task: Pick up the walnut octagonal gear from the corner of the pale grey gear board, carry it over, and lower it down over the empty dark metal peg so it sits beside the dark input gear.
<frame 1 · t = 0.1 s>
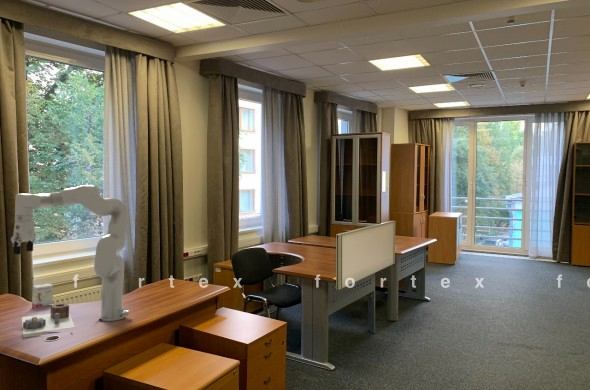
hand: (23, 252, 215), 31 cm above the table, tool pointing down, fingers open, 9 cm apart
gear board: (47, 325, 202), on the table
walnut gear: (59, 316, 210), point 1 cm above the table, touching gear board
ink box: (42, 307, 228), on the table
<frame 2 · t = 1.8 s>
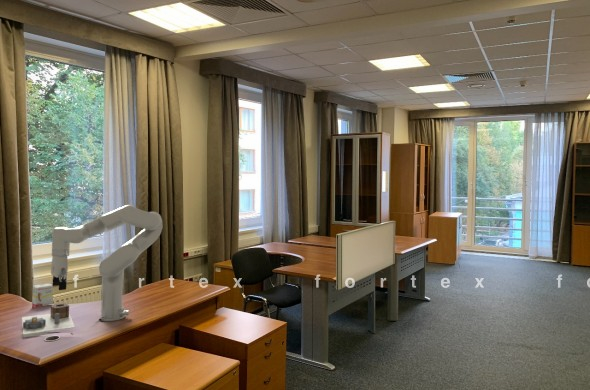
hand: (59, 287, 210), 16 cm above the table, tool pointing down, fingers open, 9 cm apart
nothing on the table moved.
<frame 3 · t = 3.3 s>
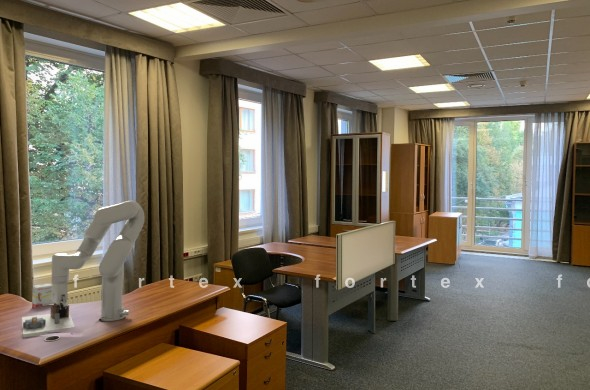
hand: (59, 314, 210), 2 cm above the table, tool pointing down, fingers closed on walnut gear, 7 cm apart
walnut gear: (59, 316, 210), point 2 cm above the table, touching gear board, gripper
everything else where it was.
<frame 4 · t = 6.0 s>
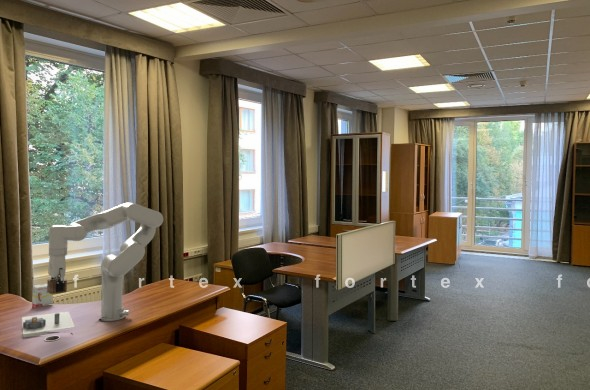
hand: (57, 289, 200), 17 cm above the table, tool pointing down, fingers closed on walnut gear, 7 cm apart
walnut gear: (56, 291, 200), point 16 cm above the table, touching gripper
everything else where it was.
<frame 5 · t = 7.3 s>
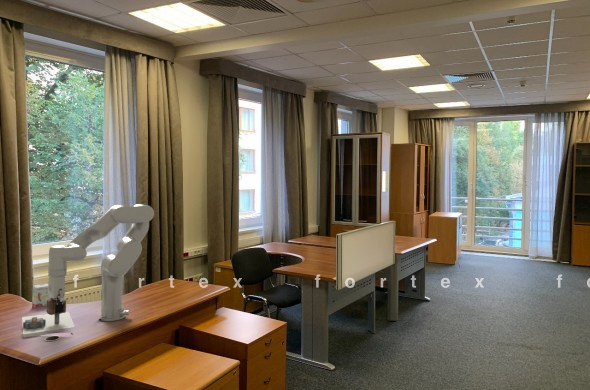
hand: (56, 310, 200), 8 cm above the table, tool pointing down, fingers closed on walnut gear, 7 cm apart
walnut gear: (56, 312, 200), point 7 cm above the table, touching gripper
everything else where it was.
when the fingers open (4 cm above the table, at t = 8.6 s): walnut gear drops 1 cm, resting on gear board.
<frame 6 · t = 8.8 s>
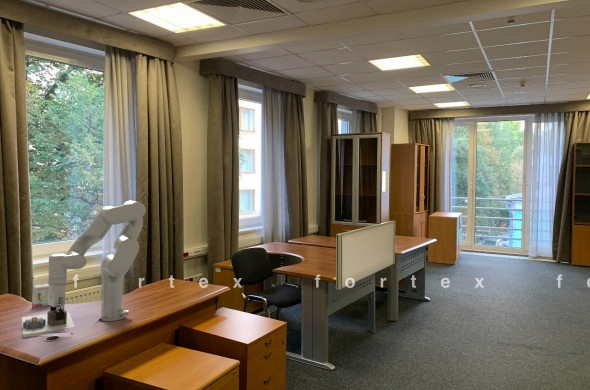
hand: (57, 317, 201), 4 cm above the table, tool pointing down, fingers open, 8 cm apart
walnut gear: (57, 323, 201), point 1 cm above the table, touching gear board
everything else where it was.
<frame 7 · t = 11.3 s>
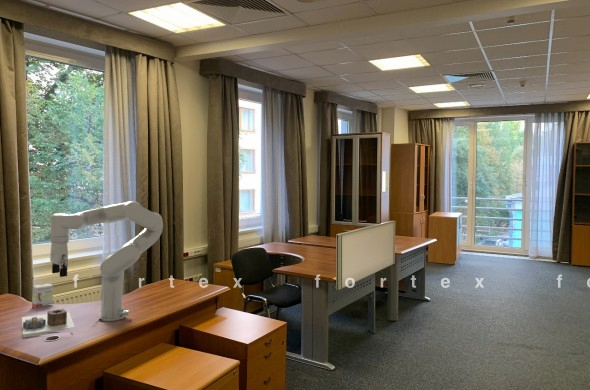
hand: (59, 274, 208), 22 cm above the table, tool pointing down, fingers open, 9 cm apart
nothing on the table moved.
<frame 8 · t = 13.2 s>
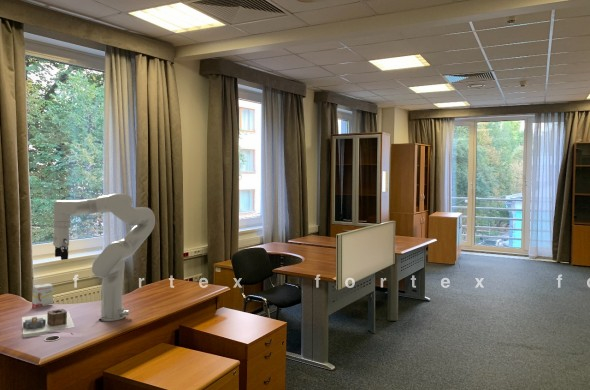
hand: (61, 258, 219), 28 cm above the table, tool pointing down, fingers open, 9 cm apart
nothing on the table moved.
at the end: walnut gear 0.1 cm from the target spot on the gear board, point 1.5 cm above the gear board's base; walnut gear tilted 0°; the gripper is holding nothing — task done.
